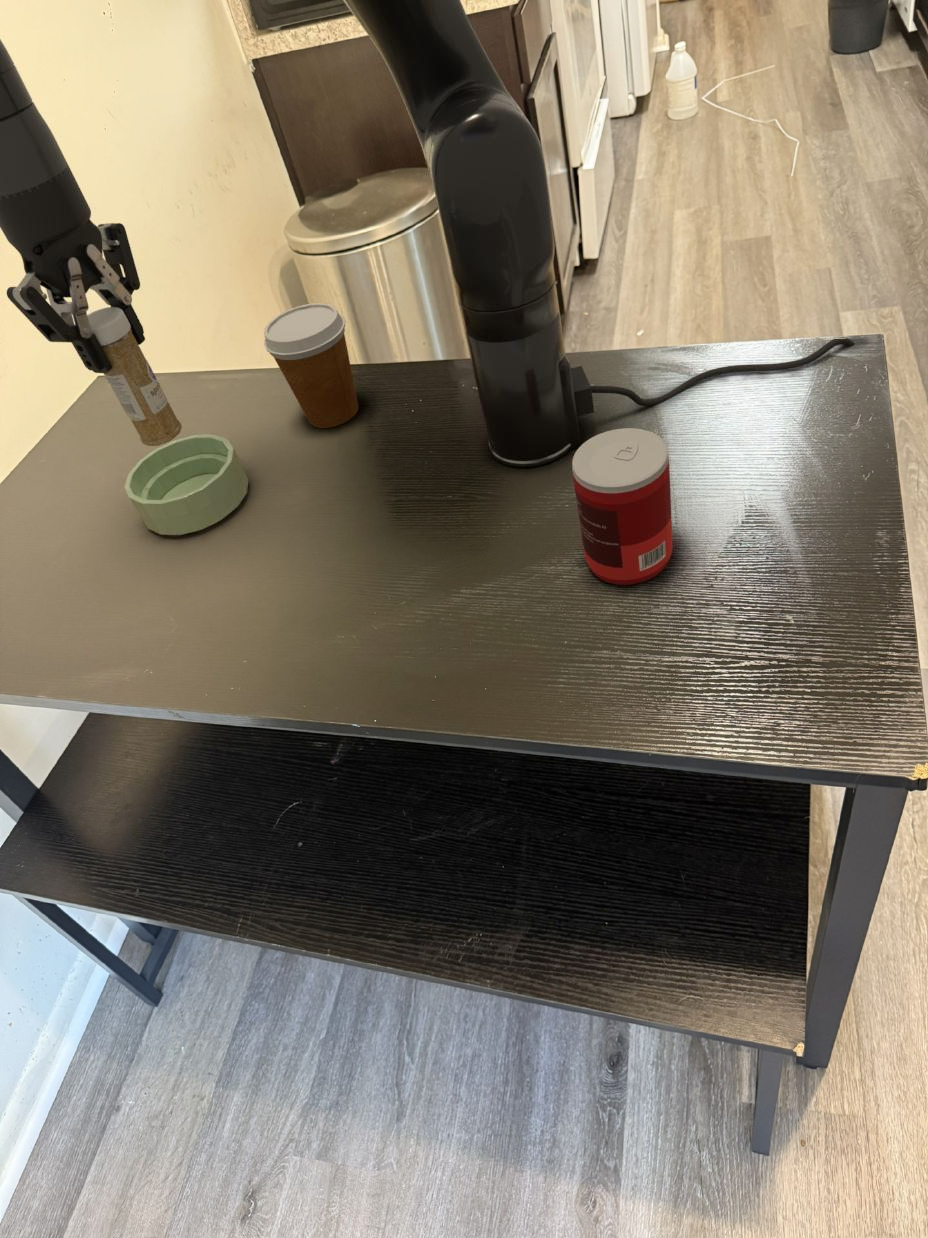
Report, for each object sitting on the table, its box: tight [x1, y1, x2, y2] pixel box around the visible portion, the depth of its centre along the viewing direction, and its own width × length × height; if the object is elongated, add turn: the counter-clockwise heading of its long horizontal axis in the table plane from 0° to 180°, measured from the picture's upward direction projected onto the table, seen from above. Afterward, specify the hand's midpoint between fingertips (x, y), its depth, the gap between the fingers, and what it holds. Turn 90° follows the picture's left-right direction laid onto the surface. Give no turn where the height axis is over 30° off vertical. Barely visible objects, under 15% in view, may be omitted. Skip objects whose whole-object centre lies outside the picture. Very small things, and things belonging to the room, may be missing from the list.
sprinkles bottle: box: [87, 306, 183, 447], centre depth 86 cm, size 5×5×14 cm
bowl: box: [124, 434, 249, 536], centre depth 96 cm, size 12×12×5 cm
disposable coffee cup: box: [263, 302, 359, 429], centre depth 101 cm, size 10×10×12 cm
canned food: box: [571, 427, 674, 586], centre depth 73 cm, size 8×8×11 cm
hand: (120, 355), depth 85 cm, fingers closed on sprinkles bottle, 4 cm apart
